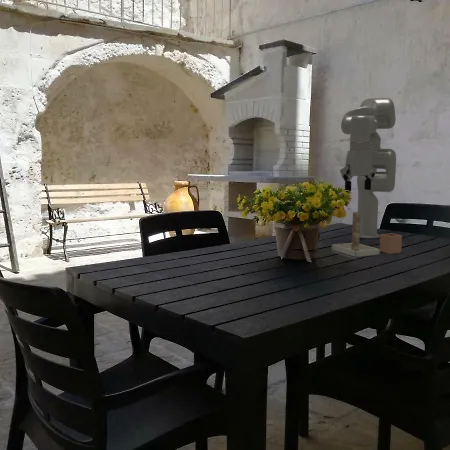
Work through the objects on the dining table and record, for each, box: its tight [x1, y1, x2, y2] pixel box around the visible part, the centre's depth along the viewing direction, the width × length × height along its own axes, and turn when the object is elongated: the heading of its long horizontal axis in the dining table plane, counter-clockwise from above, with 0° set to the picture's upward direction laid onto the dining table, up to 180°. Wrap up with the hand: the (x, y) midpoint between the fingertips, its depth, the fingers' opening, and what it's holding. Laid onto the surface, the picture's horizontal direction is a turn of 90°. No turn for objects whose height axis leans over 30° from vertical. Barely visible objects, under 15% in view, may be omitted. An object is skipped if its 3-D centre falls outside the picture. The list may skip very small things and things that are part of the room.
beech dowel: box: [351, 211, 361, 251], centre depth 210 cm, size 3×3×16 cm
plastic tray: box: [331, 242, 381, 260], centre depth 211 cm, size 16×12×3 cm
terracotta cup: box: [379, 233, 403, 255], centre depth 211 cm, size 6×6×8 cm
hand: (357, 190), depth 208 cm, fingers open, 9 cm apart
